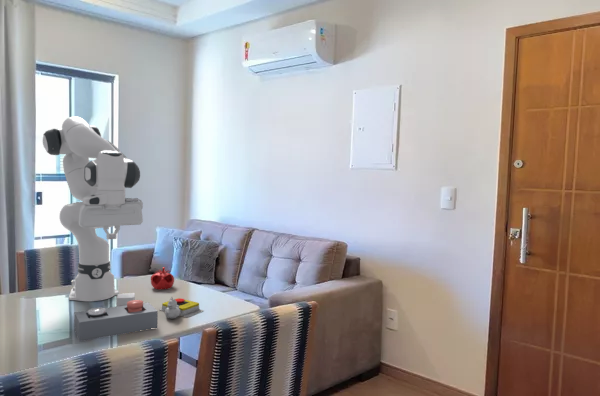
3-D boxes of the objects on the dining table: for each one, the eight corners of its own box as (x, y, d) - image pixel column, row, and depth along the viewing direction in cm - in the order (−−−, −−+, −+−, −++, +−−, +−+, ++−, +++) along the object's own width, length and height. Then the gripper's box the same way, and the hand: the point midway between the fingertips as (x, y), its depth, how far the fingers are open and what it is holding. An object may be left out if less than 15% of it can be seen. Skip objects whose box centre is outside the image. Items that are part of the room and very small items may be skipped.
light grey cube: (133, 313, 174) (133, 297, 173) (116, 314, 172) (116, 298, 172) (134, 308, 179) (134, 292, 179) (117, 309, 178) (117, 293, 177)
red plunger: (125, 315, 161) (125, 301, 160) (141, 313, 163) (141, 299, 163) (128, 320, 156) (128, 305, 156) (144, 317, 159) (145, 303, 159)
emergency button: (175, 294, 186) (204, 300, 178) (175, 305, 186) (204, 312, 179) (157, 299, 178) (187, 306, 170) (157, 311, 178) (187, 318, 171)
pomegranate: (151, 286, 212) (151, 265, 211) (174, 285, 214) (174, 264, 213) (149, 291, 202) (149, 270, 201) (174, 290, 204) (174, 269, 204)
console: (74, 330, 155) (74, 312, 155) (148, 318, 168) (148, 302, 167) (79, 341, 146) (79, 322, 145) (157, 328, 159) (157, 311, 158)
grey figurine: (161, 319, 168) (161, 297, 167) (171, 313, 174) (171, 292, 173) (174, 321, 166) (174, 299, 166) (184, 315, 173) (184, 294, 172)
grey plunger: (87, 323, 154) (87, 308, 154) (104, 321, 157) (104, 306, 157) (89, 328, 150) (89, 313, 149) (107, 326, 153) (107, 311, 152)
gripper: (140, 197, 168) (140, 235, 170) (77, 198, 157) (78, 239, 159) (145, 198, 163) (144, 238, 164) (80, 199, 152) (80, 242, 153)
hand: (111, 238), depth 161 cm, fingers closed
